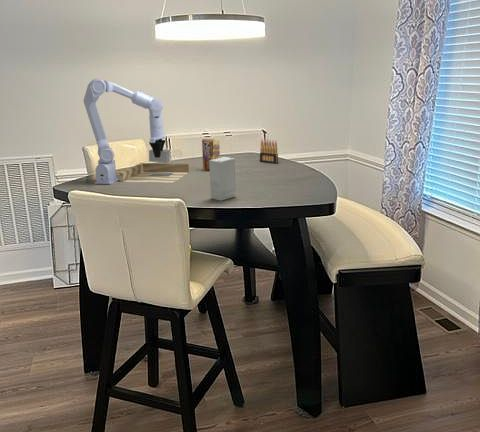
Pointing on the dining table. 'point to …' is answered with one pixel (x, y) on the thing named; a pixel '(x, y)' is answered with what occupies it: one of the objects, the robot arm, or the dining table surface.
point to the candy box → (210, 152)
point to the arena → (154, 172)
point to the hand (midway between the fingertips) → (158, 156)
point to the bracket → (163, 156)
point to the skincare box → (222, 178)
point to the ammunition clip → (269, 152)
